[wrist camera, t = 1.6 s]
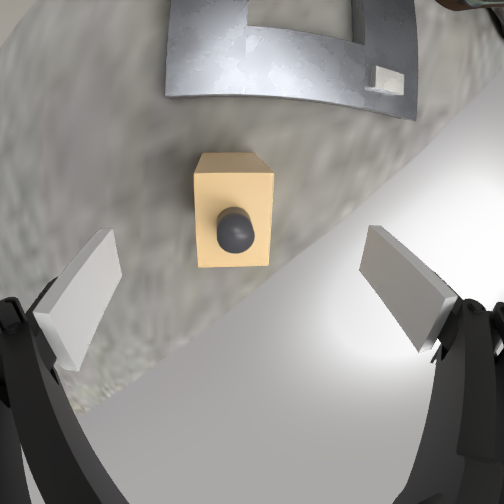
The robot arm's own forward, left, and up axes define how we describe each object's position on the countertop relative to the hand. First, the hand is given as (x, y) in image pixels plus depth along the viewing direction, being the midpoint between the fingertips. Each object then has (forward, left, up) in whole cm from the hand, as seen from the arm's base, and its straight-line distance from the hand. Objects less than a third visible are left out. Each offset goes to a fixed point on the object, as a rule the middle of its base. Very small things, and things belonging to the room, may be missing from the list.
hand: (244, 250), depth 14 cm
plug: (0, 0, -12) cm, 12 cm away
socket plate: (+6, +18, -12) cm, 23 cm away
